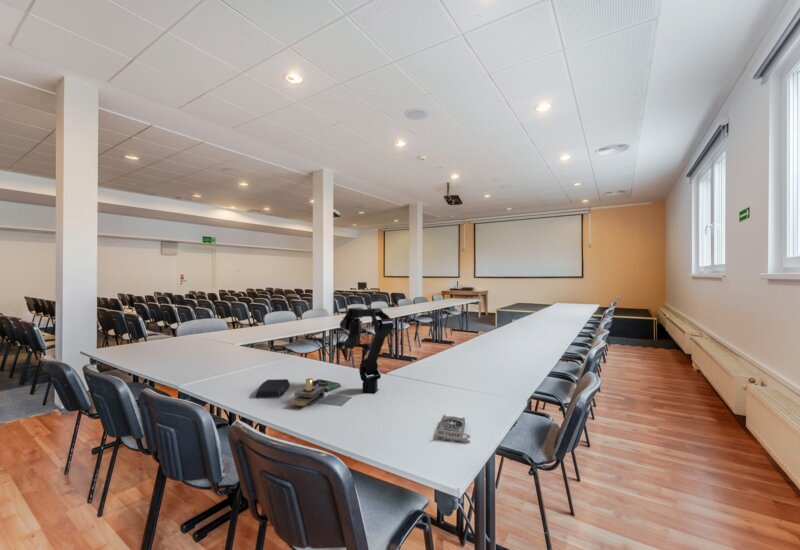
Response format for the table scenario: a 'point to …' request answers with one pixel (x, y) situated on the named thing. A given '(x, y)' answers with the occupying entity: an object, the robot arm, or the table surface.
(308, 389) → the brass pin
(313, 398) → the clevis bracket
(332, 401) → the rubber mat
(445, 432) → the graphics card
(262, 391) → the external hard drive
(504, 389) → the table surface
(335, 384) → the disk drive
